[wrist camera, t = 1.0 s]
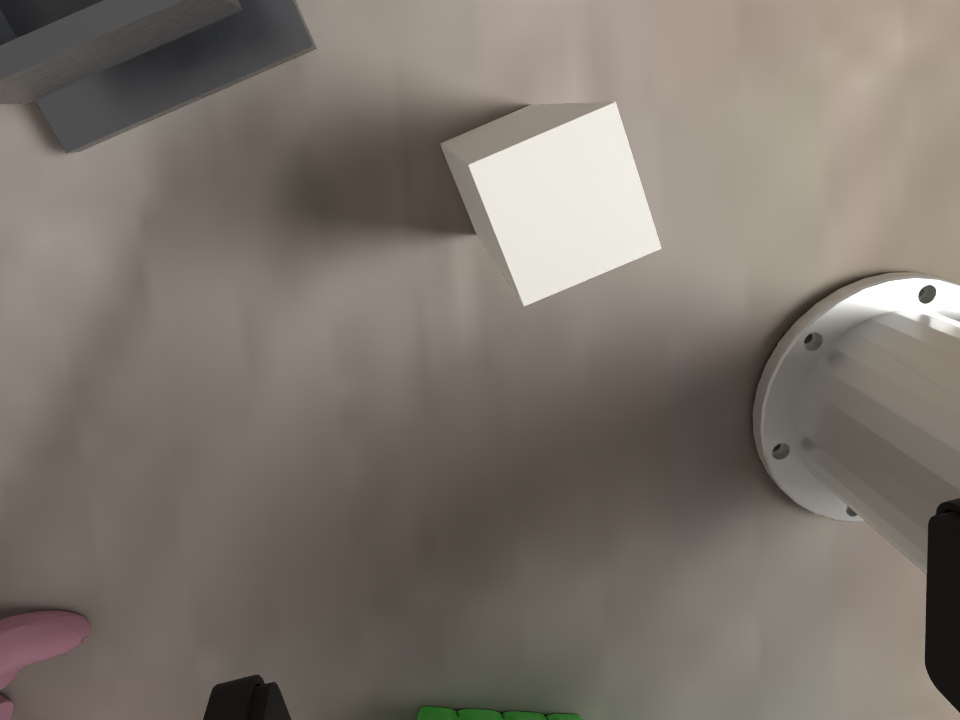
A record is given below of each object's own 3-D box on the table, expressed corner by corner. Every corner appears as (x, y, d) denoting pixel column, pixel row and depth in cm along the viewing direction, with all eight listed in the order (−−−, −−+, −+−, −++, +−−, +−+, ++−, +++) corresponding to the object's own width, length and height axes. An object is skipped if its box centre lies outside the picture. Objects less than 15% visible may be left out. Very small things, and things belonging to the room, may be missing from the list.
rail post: (530, 104, 30) (615, 101, 18) (563, 197, 31) (661, 248, 20) (439, 143, 30) (468, 164, 18) (476, 234, 31) (523, 306, 20)
